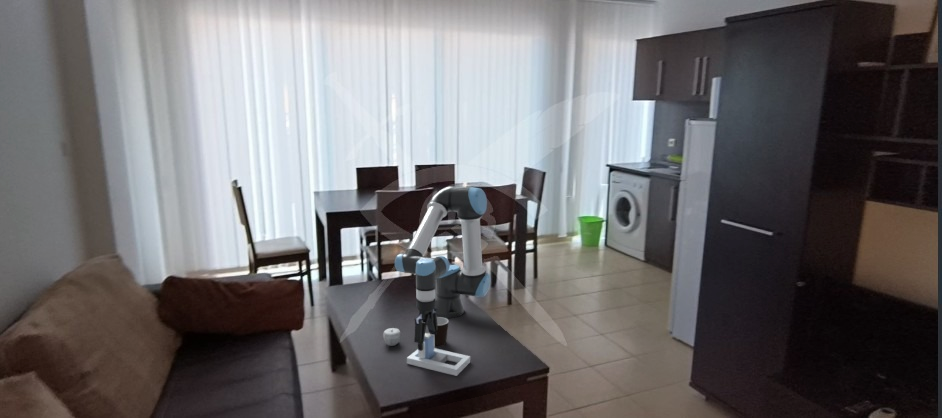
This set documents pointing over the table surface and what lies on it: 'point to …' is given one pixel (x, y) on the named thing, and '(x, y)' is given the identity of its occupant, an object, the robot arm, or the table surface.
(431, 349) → the plug
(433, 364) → the panel
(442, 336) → the coffee mug
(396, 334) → the apple
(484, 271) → the robot arm
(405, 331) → the table surface
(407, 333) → the table surface
